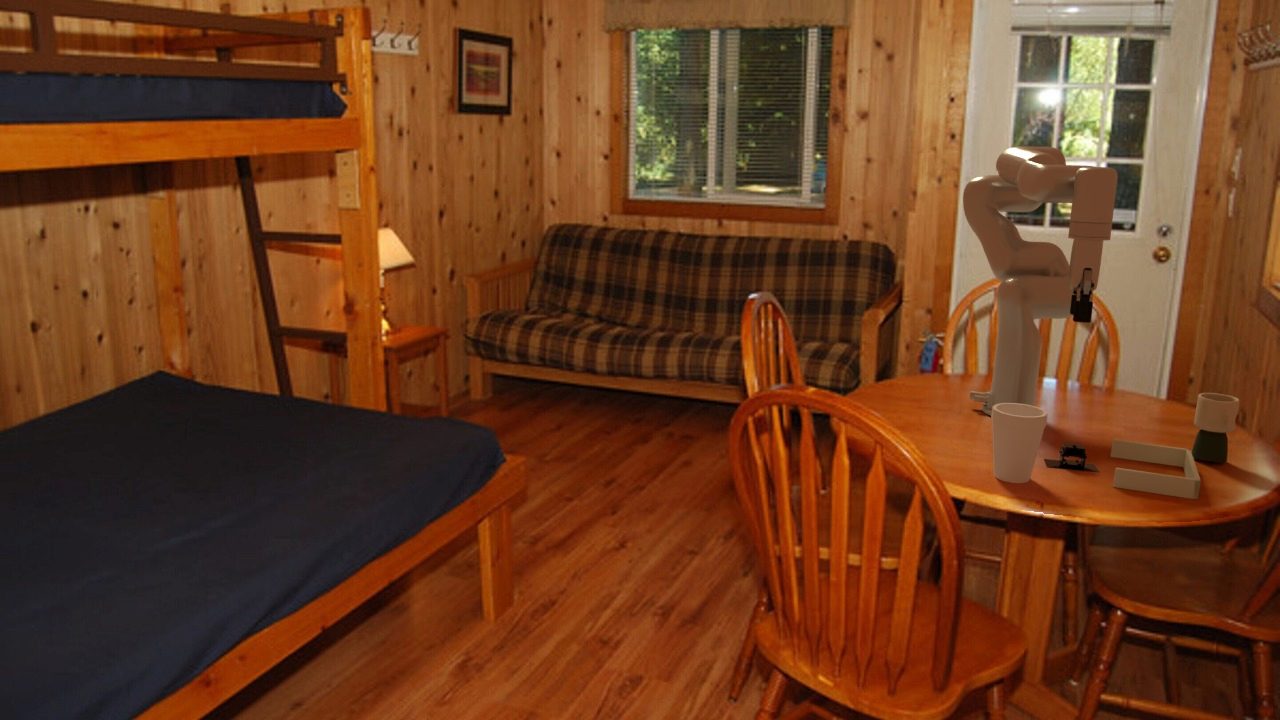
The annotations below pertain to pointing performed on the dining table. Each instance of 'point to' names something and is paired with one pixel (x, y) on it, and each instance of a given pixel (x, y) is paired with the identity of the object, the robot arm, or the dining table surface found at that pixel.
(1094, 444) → the dining table surface
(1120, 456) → the corral
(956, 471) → the dining table surface
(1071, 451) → the black piece
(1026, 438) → the foam cup
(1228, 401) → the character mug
